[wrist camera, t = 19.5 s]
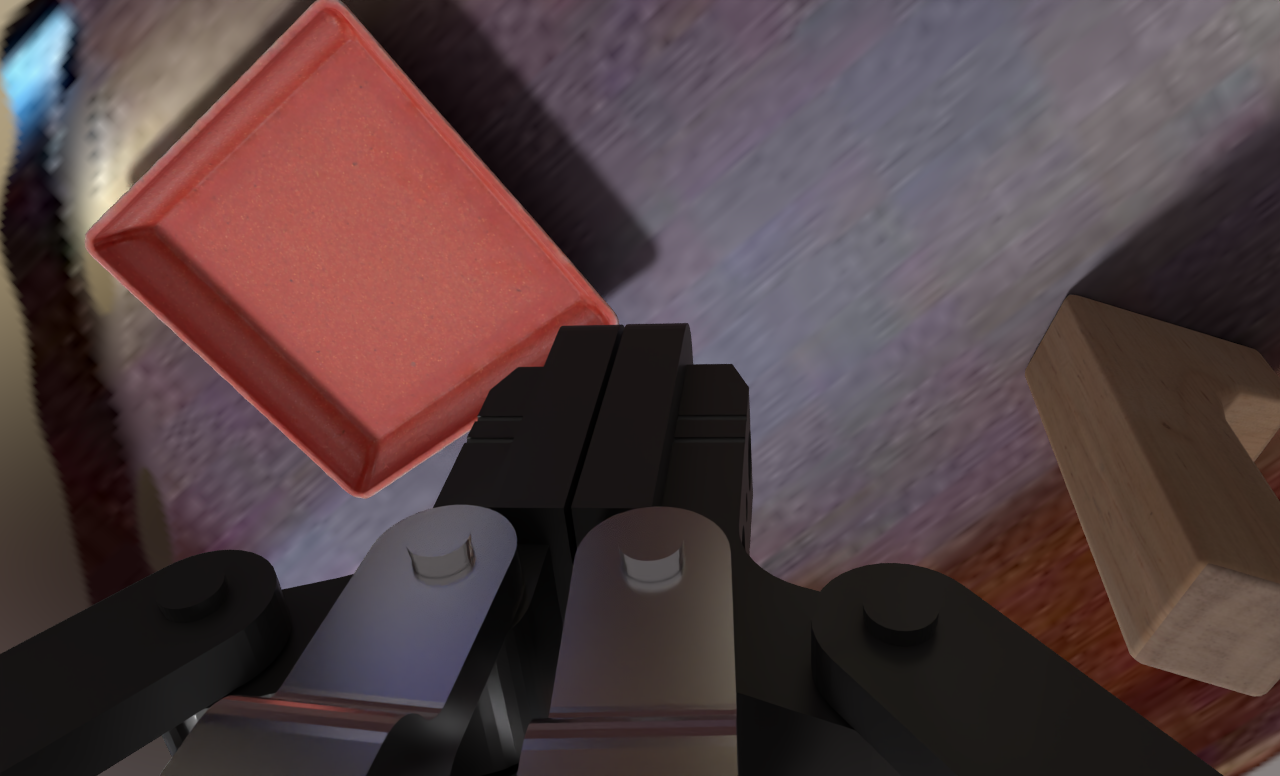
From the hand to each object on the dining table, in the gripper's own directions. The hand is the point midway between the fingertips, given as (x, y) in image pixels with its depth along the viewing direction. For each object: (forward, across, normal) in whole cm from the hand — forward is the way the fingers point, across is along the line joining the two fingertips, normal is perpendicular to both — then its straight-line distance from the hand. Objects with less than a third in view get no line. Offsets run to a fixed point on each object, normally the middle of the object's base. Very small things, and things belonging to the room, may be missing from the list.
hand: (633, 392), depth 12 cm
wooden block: (+32, -17, +18) cm, 41 cm away
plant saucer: (+33, +18, +12) cm, 39 cm away
